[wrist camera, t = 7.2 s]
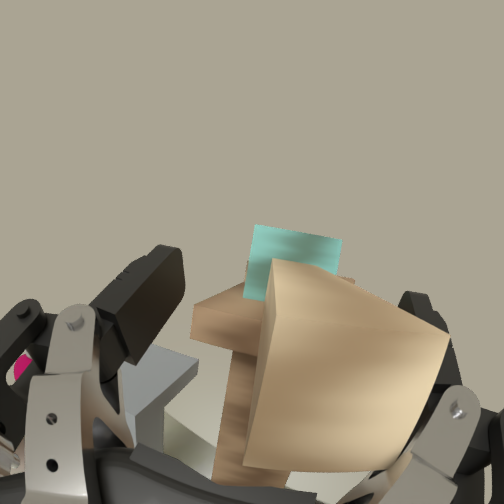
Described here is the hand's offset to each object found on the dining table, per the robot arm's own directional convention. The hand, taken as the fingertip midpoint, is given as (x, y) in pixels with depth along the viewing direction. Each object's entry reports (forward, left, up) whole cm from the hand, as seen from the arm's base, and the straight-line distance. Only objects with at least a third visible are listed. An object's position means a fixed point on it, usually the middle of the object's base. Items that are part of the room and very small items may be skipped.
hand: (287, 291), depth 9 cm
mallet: (0, +5, -3) cm, 6 cm away
